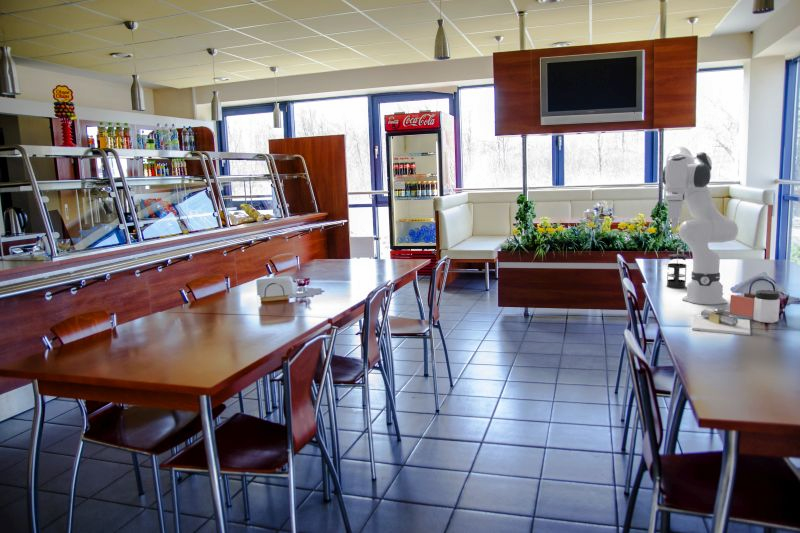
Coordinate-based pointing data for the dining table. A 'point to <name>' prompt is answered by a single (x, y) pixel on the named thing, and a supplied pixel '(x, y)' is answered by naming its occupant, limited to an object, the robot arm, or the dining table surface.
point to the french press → (676, 271)
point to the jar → (766, 306)
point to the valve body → (719, 317)
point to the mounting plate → (721, 326)
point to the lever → (739, 307)
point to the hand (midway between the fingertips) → (674, 228)
